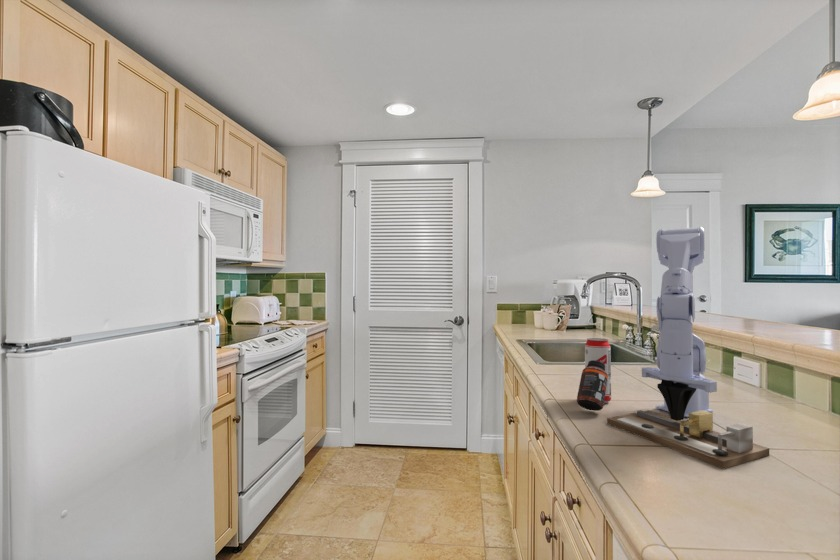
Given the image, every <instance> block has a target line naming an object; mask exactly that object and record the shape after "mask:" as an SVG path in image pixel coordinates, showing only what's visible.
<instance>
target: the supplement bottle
mask: <svg viewBox="0 0 840 560" xmlns="http://www.w3.org/2000/svg"><path fill="white" fill-rule="evenodd" d="M607 380H608V375H607V373H606V372H605V365H604V364H603V363H602V362H600V361H596V360H591V361H589V362H588V365H587V367H586V368H585V367H583V369H582V371H581V375H580V381H579V385H578V392H577V395H576V396H577V397H576V403H577V404H578V406H580V407H581V408H582V409H586V410H587V411H593V412H594V411H595V412H596V411H601V410H602V409H603V408H604V405H605V403H604V399H605V392H606V387H607Z"/></svg>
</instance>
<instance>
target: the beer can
mask: <svg viewBox="0 0 840 560" xmlns="http://www.w3.org/2000/svg"><path fill="white" fill-rule="evenodd" d="M611 352H612V351H611V345H610V343H609V339H608V338H599V337H596V338H595V337H593V338H592V337H589V338H586V342H585V344H584V368H586V367H587V365H588V362H589V361H591V360H596V361H600V362H602V363H603V364H604V365H605V372H606V373H607V375H608V380H607V387H606V392H605V399H604V404H608V403H609V402H610V401H612V360H611V359H612V354H611Z"/></svg>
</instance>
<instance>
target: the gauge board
mask: <svg viewBox="0 0 840 560" xmlns="http://www.w3.org/2000/svg"><path fill="white" fill-rule="evenodd" d="M682 421H683V420H678V421H676V420H673V419H671V418H670V416H668V415H665V414H661V413H658V412H655V411H652V410H648V409H647V410H641V409H640V410H637V411H636V412H632V413H626V414H621V415H616V416H611V417H606V424H608V425H610V426H613V427H615V428H618V429H621V430H623V431H626V432H627V433H631V434H633V435H636V436H639V437H641V438H643V439H646V440H648V441H651V442H654V443H656V444H658V445H662V446H664V447H666V448H669V449H672V450H675V451H677V452H680V453H682V454H685V455H687V456H690V457H692V458H695V459H698V460H700V461H703V462H705V463H708V464H710V465H713V466H716V467H719V468H721V469H723V470H724V469H727V468H731V467H733V466H737V465H741V464H743V463H747V462H749V461H750V462H751V461H754V460H758V459H760V458H761V459H762V458H764V457H768V456H770V448H769V447H766V446H763V445H760V444H757V443H754V442H753V440H754V439H753V438H754V435H753V434H754V432H753V431H754V430H753V429H754V428H753V425H749V424H745V423H741V422H739V423H735V424H730V425H726V430H725V432H719V431H716V430H713V433H710V432H707V431H703V437H701V438H699V437H696V436H693V435H690V434H689V425H686V426H684V437H681V436H680V422H682Z"/></svg>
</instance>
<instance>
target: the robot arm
mask: <svg viewBox="0 0 840 560" xmlns="http://www.w3.org/2000/svg"><path fill="white" fill-rule="evenodd" d="M655 239H656V242H655V243H656V252H657V255H658V257H657V258H658V260H659V263H660V265H662V266H665V267H667V268H668V269H667V270H665V272H663V274H662V277H661V285H660V286H661V289H660V296H657V298H656V317H657V322H658V323H657V325H658V331H659V339H658V340H657V348H656V366H657V368H656V367H655V368H653V367H649V366H648V367H647V366H646V367H641V377H642V378H651V379H655V380H659V381H661V382H660V383H657V385H656V386H657V389H658V391H659V392H660V393H661V395H662V397H663V404H659V405H655V408H656V409H658V410H661V411H665V412H668V413H669V417H670V418H671V419H673V420H676V421H678V420H681V421H684V417H685V418H689V413H692V412H696V411H701V410H703V411H706V412H710V413H713V412H714V410H713V409H711V408H710V396H709V395H710V394H711V393H716V392H717V389H718V386H717V385H718V382H717V381H716V380H711V379H708V378H706V377H705V376H704V374H705V373H706V372H707V363H706V361H707V357H706V356H707V353H706V352H707V350H706V344H705V342H704V340H703V339H702V338H701V337H699V336H698V335H696V334H695V333H693V331H694V330H693V325H694V324H693V323H694V322H695V319H696V300H695V295H694V286H693V285H694V276H693V272H694V269H695V267H696V266H699V265H701V264H703V262H704V261H703V260H705V259H704V258H705V228H703V226H699V227H685V228H683V227H682V228H672V229H662V228H660V229H658V230H657V232H656V237H655Z"/></svg>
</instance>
